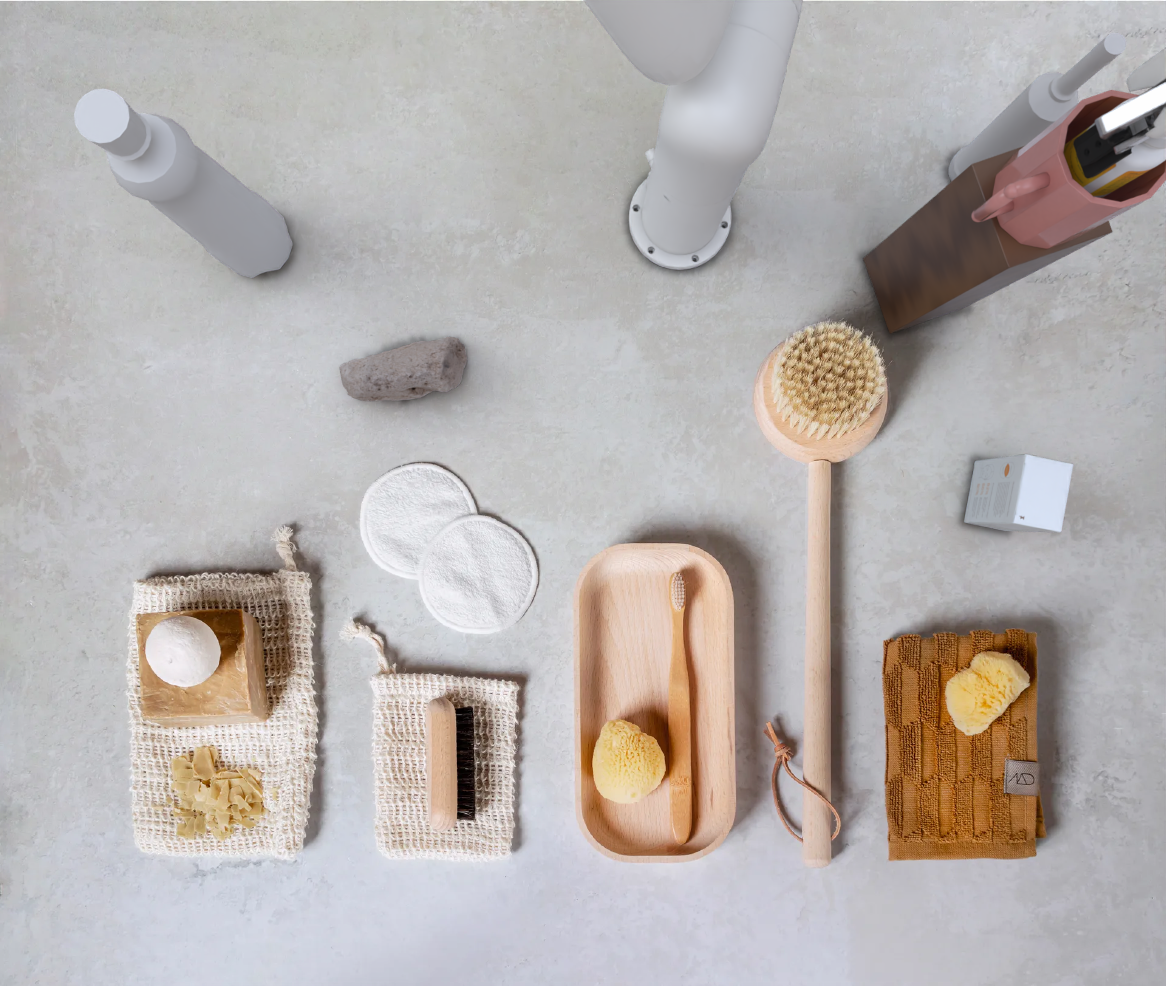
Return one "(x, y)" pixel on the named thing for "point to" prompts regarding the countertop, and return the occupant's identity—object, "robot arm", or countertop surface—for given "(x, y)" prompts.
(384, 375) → the pumice stone
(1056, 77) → the bottle
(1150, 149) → the supplement bottle
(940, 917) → the countertop surface
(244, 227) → the bottle
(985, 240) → the stand
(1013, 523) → the small box
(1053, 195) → the pink octagonal mug
